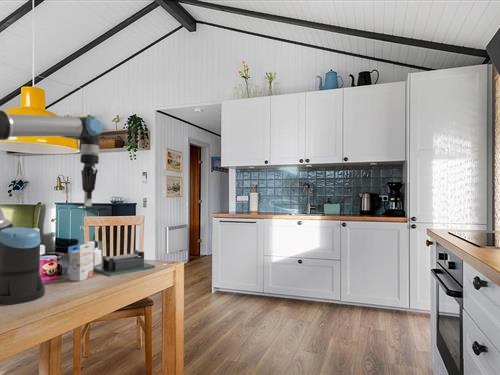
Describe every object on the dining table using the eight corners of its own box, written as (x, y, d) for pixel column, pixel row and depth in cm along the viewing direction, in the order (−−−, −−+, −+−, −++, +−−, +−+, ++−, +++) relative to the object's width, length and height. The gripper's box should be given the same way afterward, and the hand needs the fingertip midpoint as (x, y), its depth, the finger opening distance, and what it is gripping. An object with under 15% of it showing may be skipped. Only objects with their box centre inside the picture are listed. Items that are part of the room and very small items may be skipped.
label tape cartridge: (73, 270, 153) (74, 243, 153) (81, 270, 153) (81, 243, 153) (59, 274, 144) (60, 246, 145) (67, 274, 144) (68, 246, 144)
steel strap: (108, 261, 148) (108, 257, 148) (104, 260, 151) (104, 255, 151) (142, 256, 161) (142, 252, 161) (137, 255, 164) (137, 251, 164)
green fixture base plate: (110, 276, 142) (110, 258, 142) (92, 269, 154) (93, 253, 154) (155, 268, 158) (155, 252, 158) (136, 262, 170) (136, 248, 170)
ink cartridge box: (83, 275, 142) (84, 241, 143) (93, 276, 141) (94, 242, 142) (68, 280, 134) (69, 244, 134) (79, 281, 133) (80, 245, 133)
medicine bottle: (87, 263, 168) (88, 240, 169) (101, 263, 168) (101, 240, 169) (80, 266, 161) (80, 241, 162) (94, 266, 161) (94, 242, 161)
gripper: (104, 154, 148) (102, 206, 147) (92, 156, 157) (90, 205, 156) (86, 152, 142) (84, 206, 141) (75, 155, 151) (73, 205, 150)
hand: (87, 206), depth 149 cm, fingers closed
